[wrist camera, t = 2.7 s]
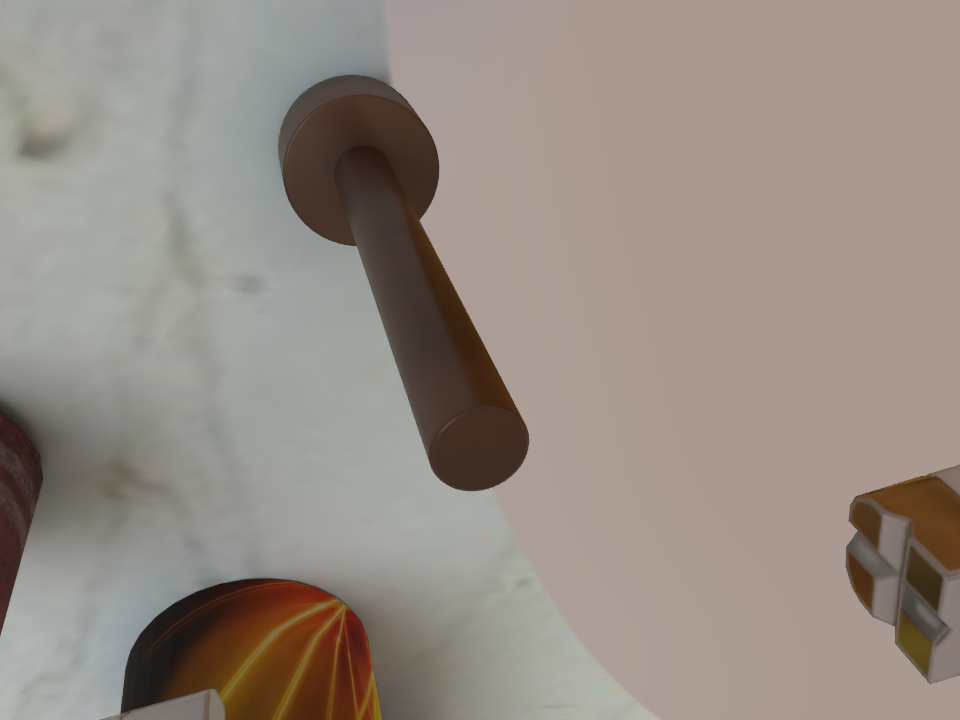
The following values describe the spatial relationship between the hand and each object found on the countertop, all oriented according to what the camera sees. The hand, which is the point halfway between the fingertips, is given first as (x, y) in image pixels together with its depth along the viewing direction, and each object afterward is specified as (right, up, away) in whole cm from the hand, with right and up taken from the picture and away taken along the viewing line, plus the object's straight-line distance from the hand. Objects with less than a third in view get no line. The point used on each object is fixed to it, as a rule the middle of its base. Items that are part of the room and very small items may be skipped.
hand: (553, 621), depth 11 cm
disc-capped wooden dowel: (-5, +10, +16) cm, 19 cm away
